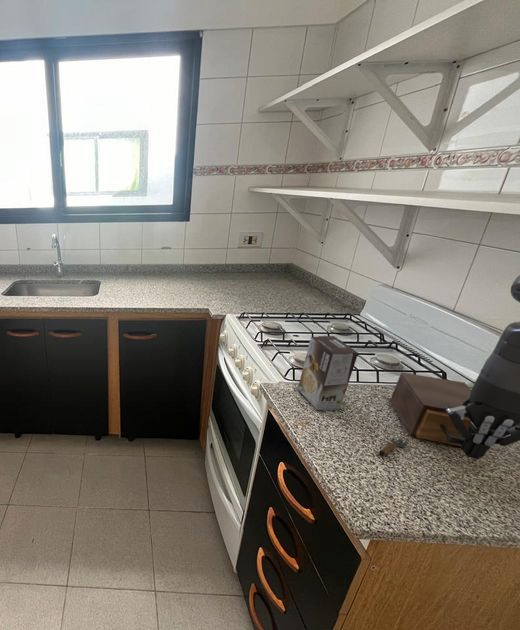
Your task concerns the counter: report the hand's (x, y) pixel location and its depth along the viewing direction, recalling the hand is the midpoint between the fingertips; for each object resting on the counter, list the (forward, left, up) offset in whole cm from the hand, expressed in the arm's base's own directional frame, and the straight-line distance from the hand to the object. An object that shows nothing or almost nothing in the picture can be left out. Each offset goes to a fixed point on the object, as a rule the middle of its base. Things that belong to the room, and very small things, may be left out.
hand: (470, 455), depth 67 cm
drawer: (0, -10, -3) cm, 10 cm away
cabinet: (0, -14, -4) cm, 15 cm away
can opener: (+11, -1, -4) cm, 12 cm away
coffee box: (+23, -15, -4) cm, 28 cm away
